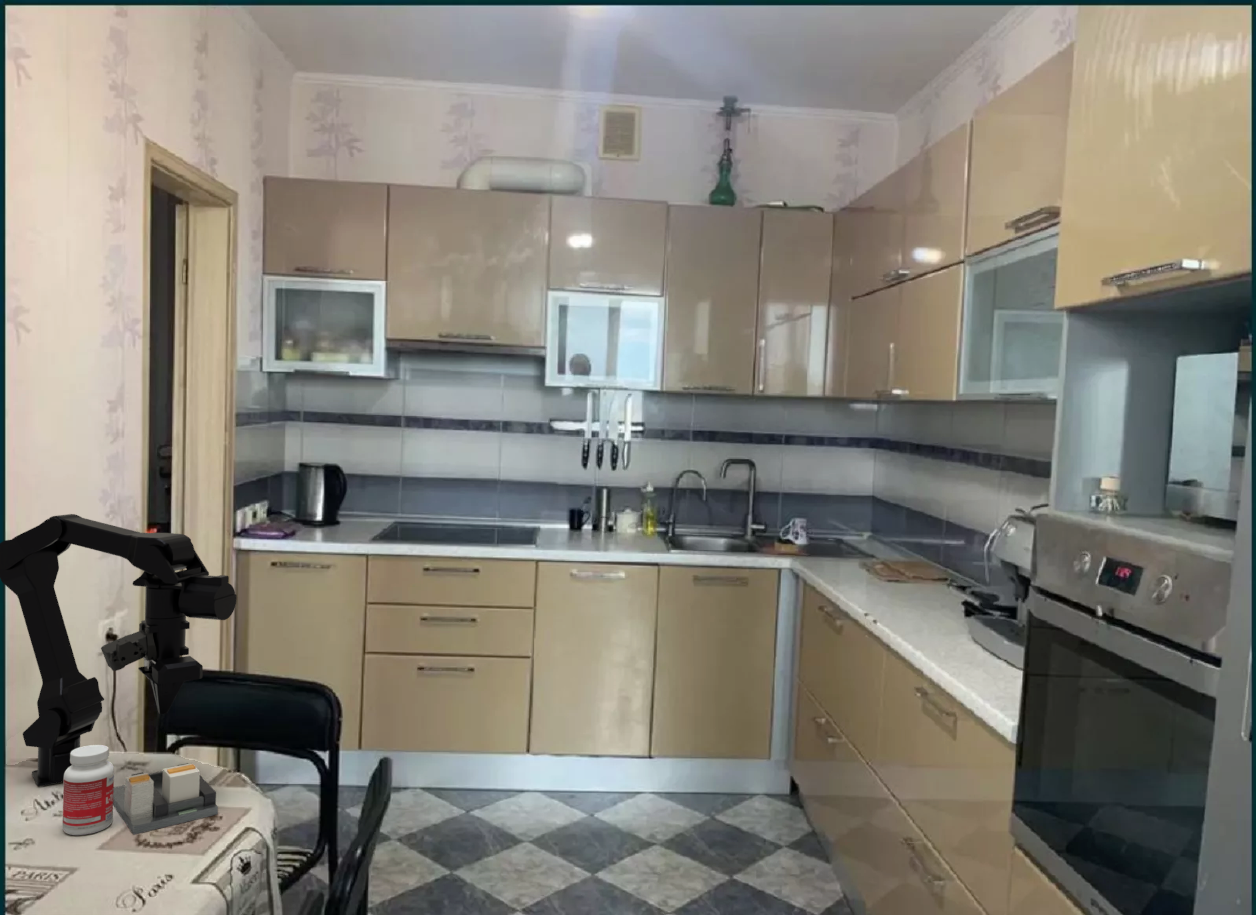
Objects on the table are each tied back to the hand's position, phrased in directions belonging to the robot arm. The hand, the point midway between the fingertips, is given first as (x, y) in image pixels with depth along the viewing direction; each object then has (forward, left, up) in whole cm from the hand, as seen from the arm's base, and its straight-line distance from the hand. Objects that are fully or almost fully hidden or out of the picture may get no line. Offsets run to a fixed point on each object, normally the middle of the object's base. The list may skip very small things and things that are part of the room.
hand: (163, 713), depth 139 cm
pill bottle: (+8, -12, -12) cm, 19 cm away
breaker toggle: (+11, 0, -11) cm, 15 cm away
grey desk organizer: (+7, -2, -12) cm, 14 cm away
